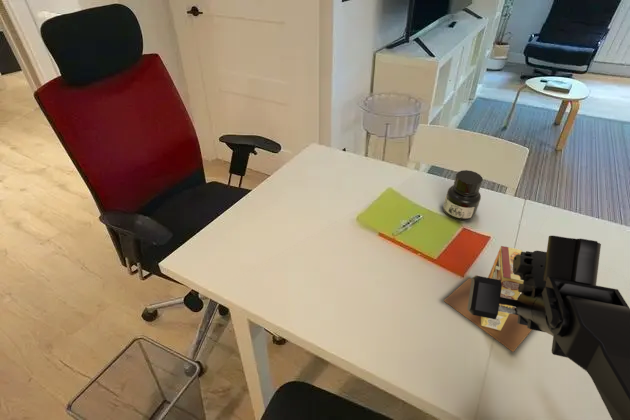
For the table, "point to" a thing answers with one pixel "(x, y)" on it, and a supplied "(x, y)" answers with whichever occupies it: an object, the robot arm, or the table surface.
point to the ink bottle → (463, 196)
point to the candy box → (504, 284)
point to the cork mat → (507, 336)
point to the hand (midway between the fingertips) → (515, 300)
